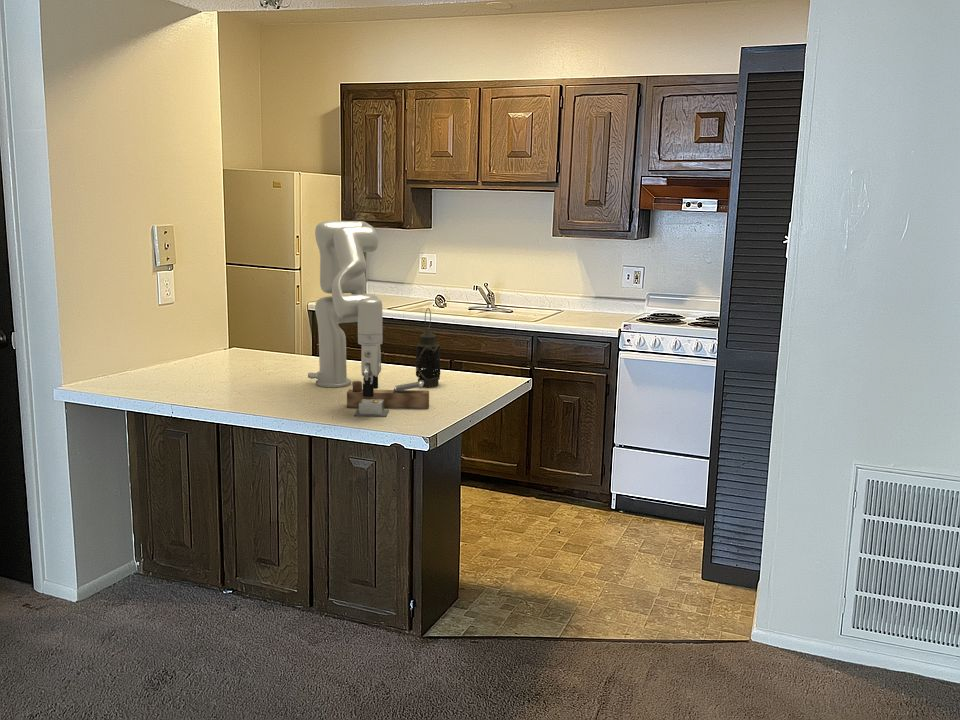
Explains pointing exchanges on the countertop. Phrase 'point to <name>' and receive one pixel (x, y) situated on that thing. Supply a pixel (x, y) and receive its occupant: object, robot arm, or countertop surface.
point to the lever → (409, 386)
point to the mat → (372, 415)
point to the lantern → (428, 358)
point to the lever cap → (371, 407)
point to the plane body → (390, 397)
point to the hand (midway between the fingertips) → (370, 392)
